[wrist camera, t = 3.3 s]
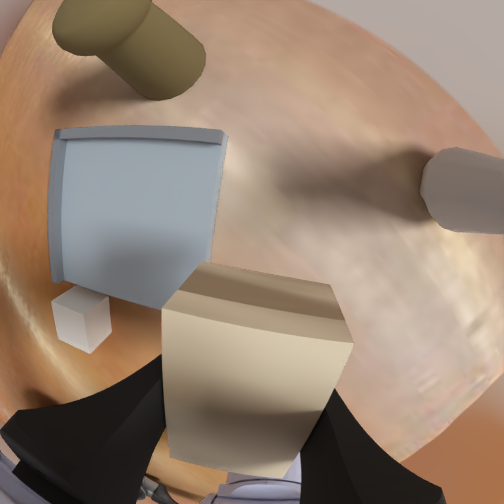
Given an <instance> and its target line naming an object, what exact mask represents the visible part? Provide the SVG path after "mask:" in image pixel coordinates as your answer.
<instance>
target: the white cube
mask: <svg viewBox="0 0 504 504" xmlns="http://www.w3.org/2000/svg"><path fill="white" fill-rule="evenodd" d="M51 304H52V310H53V316H54V321H55V325H56V330H57V335H58V339H60V340H62V341H64V342H66V343H68V344H70V345H72V346H74V347H76V348H78V349H80V350H83V351H85V352H87V353H89V354H91V353H92V352H93V351H94V350H95V349H96V348H97V347H98V346H99V345H100V344H101V343H102V342H103V341H104V340H105V339H106V338H107V337H108V336H109V335H110V334H111V333H112V329H111V319H110V308H109V295H106V294H103V293H100V292H96V291H93V290H90V289H87V288H84V287H82V286H79V285H76V286H74V287H72V288H71V289H69V290H67V291H66V292H64V293H63V294H61V295H60V296H58V297H56V298H55V299H53V300H52V301H51Z"/></svg>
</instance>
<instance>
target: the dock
mask: <svg viewBox="0 0 504 504" xmlns="http://www.w3.org/2000/svg"><path fill="white" fill-rule="evenodd" d="M227 141H228V135H226V134H225V133H224V132H223V131H221V130H216V129H205V128H192V127H176V126H142V125H129V126H96V127H80V128H68V129H58V130H55V133H54V140H53V147H52V155H51V164H50V176H49V192H48V240H49V257H50V268H51V278H52V282H53V283H56V284H59V283H61V282H62V281H64V280H65V281H68V282H71V283H73V284H76V285H79V286H82V287H85V288H88V289H91V290H94V291H97V292H100V293H103V294H106V295H109V296H113V297H116V298H119V299H123V300H126V301H129V302H133V303H136V304H140V305H143V306H147V307H150V308H154V309H158V310H161V311H162V307H163V306H164V305H165V303H166V302H167V301H168V300H169V299H170V298H171V297H172V295H173V294H174V293H175V292H176V291H177V290H178V288H179V287H180V286H181V285H182V284H183V283H184V282H185V280H186V279H187V278H188V277H189V276H190V275H191V274H192V272H193V271H194V270H195V269H196V268H197V267H198V266H199V264H200V263H201V262H202V261H205V262H210V257H211V249H212V241H213V233H214V226H215V218H216V211H217V204H218V197H219V191H220V184H221V178H222V171H223V165H224V159H225V153H226V147H227Z"/></svg>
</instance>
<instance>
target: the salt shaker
mask: <svg viewBox="0 0 504 504" xmlns="http://www.w3.org/2000/svg"><path fill="white" fill-rule="evenodd" d="M419 193H420V195H421V196H422V198H423V200H424V201H425V203H426V206H427V209H428V211H429V214H430V215H431V216H432V217H433V218H434V220H435V221H436V222H437V223H438V224H439V225H440V226H441V227H443V228H445V229H448V230H451V231H454V232H466V233H485V234H502V235H504V160H503V159H500V158H497V157H493V156H490V155H486V154H483V153H479V152H475V151H471V150H467V149H462V148H458V147H454V148H448V149H443V150H441V151H439V152H438V153H437V154H436V155H435V156H434V157H433V158H432V159H430V160H429V161H428V163H427V164H426V166H425V167H424V169H423V174H422V180H421V186H420V192H419Z"/></svg>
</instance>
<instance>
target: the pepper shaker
mask: <svg viewBox="0 0 504 504" xmlns="http://www.w3.org/2000/svg"><path fill="white" fill-rule="evenodd" d="M52 32H53V36H54V39H55V41H56V43H57V44H58V45H59V46H60V47H61V48H62V49H63V50H65V51H68V52H70V53H72V54H75V55H78V56H94V55H96V56H97V57H98V58H100V59H101V60H102V61H103V62H104V63H105V64H107V65H108V66H109V67H110V68H111V69H112V70H114V71H115V72H116V73H117V74H118V75H119V76H121V77H122V78H123V79H124V80H125V81H126V82H127V83H128V84H130V85H131V86H132V87H133V88H134V89H135V90H136V91H137V92H139V93H140V94H141V95H143V96H144V97H146V98H148V99H153V100H165V99H171V98H173V97H176V96H178V95H180V94H182V93H184V92H185V91H186V90H188V89H189V88H190V87H191V86H193V85H194V83H195V82H196V81H197V80H198V78H199V77H200V76H201V74H202V71H203V69H204V67H205V62H206V53H205V50H204V47H203V45H202V44H201V43H200V42H199V41H198V40H197V39H196V38H195V37H194V36H193V35H192V34H190V33H189V32H188V31H187V30H186V29H185V28H183V27H182V26H181V25H180V24H179V23H178V22H176V21H175V20H174V19H173V18H171V17H170V16H169V15H168V14H166V13H165V12H164V11H163V10H161V9H160V8H159V7H158V6H156V5H155V4H154V3H152V0H64V1H63V3H62V4H61V6H60V7H59V9H58V11H57V13H56V15H55V18H54V21H53V25H52Z"/></svg>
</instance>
